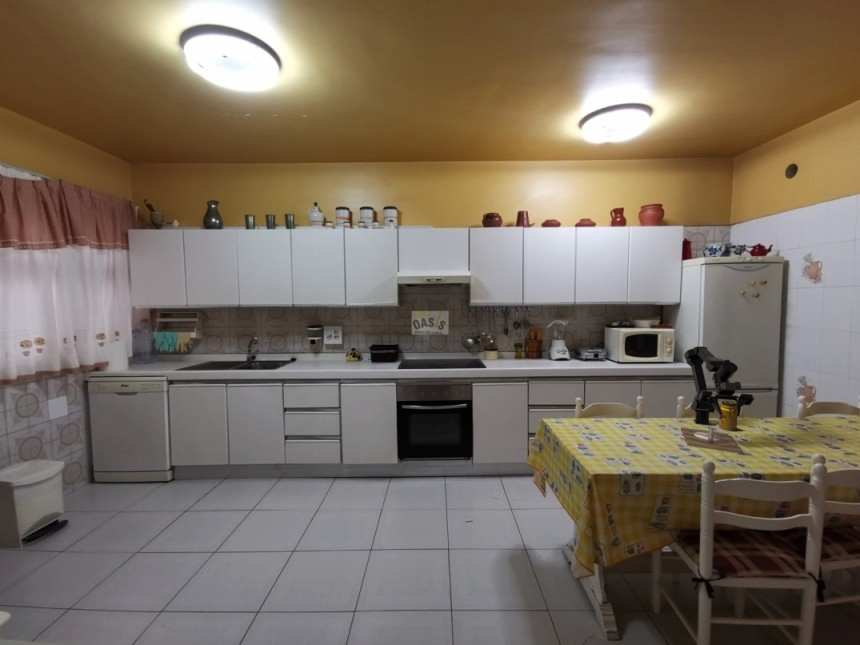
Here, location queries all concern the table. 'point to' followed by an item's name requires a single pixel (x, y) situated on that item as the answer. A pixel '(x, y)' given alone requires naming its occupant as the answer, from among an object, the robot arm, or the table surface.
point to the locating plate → (706, 444)
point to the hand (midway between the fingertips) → (729, 414)
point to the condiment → (728, 417)
